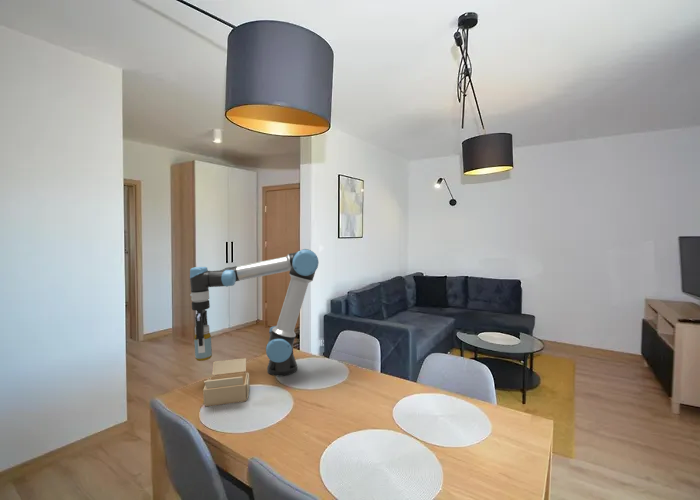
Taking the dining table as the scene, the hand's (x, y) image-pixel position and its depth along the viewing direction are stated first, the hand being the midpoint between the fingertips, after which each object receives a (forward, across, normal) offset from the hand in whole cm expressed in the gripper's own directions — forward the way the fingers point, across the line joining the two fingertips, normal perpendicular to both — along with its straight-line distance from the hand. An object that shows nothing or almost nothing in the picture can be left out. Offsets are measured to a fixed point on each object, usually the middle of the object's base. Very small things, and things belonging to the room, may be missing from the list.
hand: (203, 349), depth 156 cm
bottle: (+4, 0, 0) cm, 4 cm away
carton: (+18, +13, +11) cm, 25 cm away
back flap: (+8, +4, +12) cm, 15 cm away
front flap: (+8, +22, +12) cm, 26 cm away
